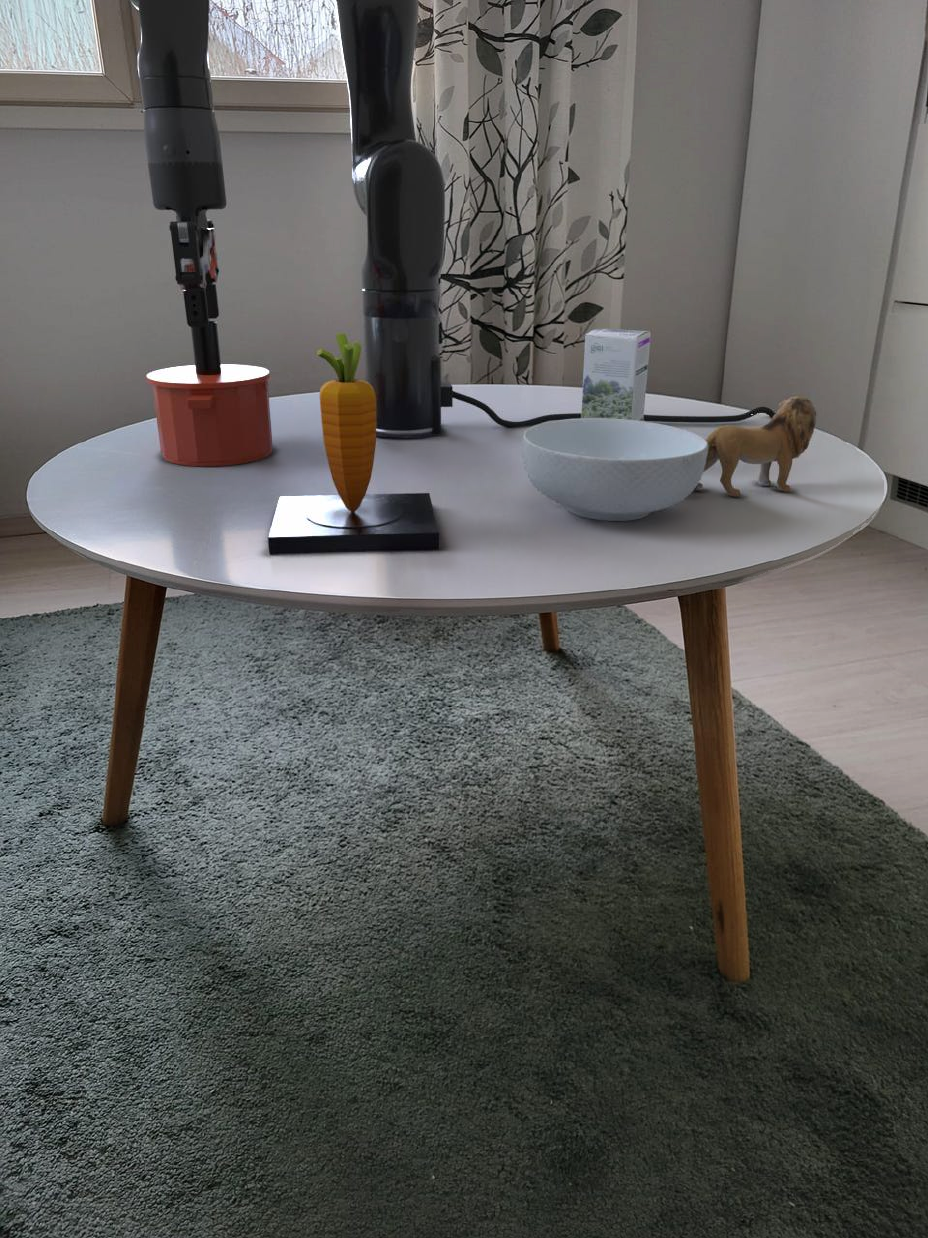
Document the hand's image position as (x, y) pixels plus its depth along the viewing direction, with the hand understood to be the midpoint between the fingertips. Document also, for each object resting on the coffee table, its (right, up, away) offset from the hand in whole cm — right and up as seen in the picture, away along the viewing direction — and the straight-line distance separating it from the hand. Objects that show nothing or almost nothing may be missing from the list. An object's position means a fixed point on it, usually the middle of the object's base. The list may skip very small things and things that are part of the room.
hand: (204, 322), depth 104 cm
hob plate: (+19, -25, -21) cm, 38 cm away
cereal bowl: (+43, -23, -15) cm, 51 cm away
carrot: (+19, -24, -22) cm, 37 cm away
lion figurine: (+58, -20, -8) cm, 62 cm away
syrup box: (+45, -16, 0) cm, 48 cm away
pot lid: (0, -6, +1) cm, 6 cm away
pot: (0, -14, +5) cm, 15 cm away
